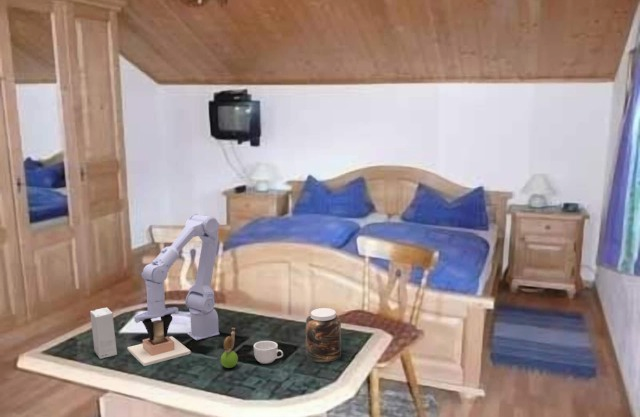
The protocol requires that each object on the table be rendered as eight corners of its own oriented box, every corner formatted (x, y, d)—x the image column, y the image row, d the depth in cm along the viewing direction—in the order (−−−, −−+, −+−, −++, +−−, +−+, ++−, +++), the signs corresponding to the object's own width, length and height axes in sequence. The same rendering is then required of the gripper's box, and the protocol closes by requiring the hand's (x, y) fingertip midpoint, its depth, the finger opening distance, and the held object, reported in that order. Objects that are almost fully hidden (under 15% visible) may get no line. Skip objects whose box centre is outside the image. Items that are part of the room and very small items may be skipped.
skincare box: (117, 355, 194) (114, 313, 191) (98, 359, 191) (95, 316, 188) (111, 347, 201) (108, 306, 198) (92, 351, 197) (89, 309, 195)
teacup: (249, 363, 187) (249, 348, 186) (260, 354, 194) (259, 339, 193) (278, 368, 183) (277, 352, 182) (287, 358, 191) (287, 343, 190)
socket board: (172, 338, 207) (171, 328, 207) (190, 353, 195) (190, 342, 194) (127, 349, 198) (126, 338, 197) (144, 366, 185) (143, 354, 185)
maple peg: (165, 342, 198) (163, 319, 197) (164, 346, 194) (162, 324, 193) (153, 342, 198) (151, 320, 196) (151, 347, 194) (150, 324, 192)
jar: (307, 347, 199) (307, 306, 197) (341, 348, 198) (341, 306, 196) (304, 362, 188) (304, 318, 185) (340, 363, 187) (340, 318, 184)
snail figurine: (242, 363, 187) (241, 328, 185) (233, 372, 181) (231, 335, 179) (227, 361, 189) (226, 326, 187) (217, 369, 183) (216, 333, 181)
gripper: (171, 292, 201) (173, 329, 203) (130, 300, 192) (132, 339, 195) (180, 297, 195) (181, 335, 197) (137, 306, 187) (140, 345, 189)
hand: (158, 337), depth 196 cm, fingers closed on maple peg, 4 cm apart
